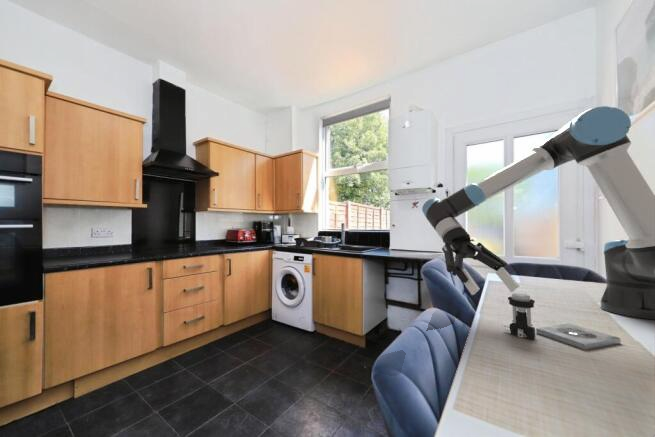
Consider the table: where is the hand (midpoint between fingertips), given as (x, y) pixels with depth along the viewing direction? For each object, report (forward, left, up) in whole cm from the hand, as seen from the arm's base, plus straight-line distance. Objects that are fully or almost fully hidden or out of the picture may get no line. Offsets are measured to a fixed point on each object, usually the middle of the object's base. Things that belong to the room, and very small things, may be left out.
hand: (496, 290), depth 68 cm
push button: (-1, +5, -10) cm, 11 cm away
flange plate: (-13, +10, -10) cm, 19 cm away
